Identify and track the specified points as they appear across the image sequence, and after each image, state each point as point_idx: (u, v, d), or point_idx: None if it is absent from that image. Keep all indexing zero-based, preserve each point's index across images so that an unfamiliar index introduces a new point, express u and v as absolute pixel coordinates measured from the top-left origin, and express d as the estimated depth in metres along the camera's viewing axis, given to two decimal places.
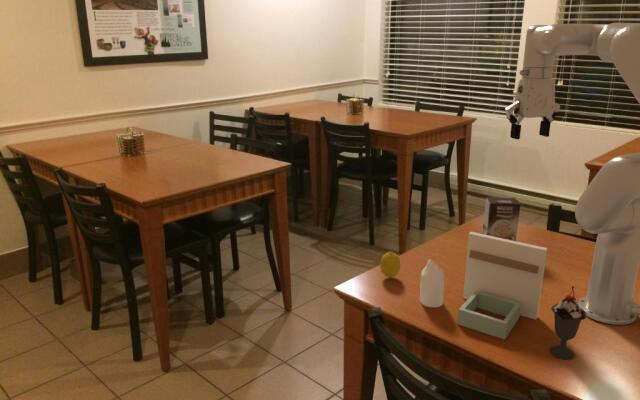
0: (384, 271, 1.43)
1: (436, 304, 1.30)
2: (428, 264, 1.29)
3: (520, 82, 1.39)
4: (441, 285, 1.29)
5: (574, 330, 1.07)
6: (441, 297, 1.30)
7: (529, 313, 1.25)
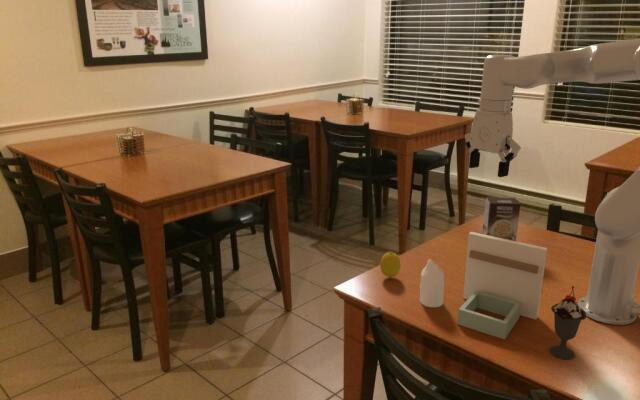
0: (384, 271, 1.43)
1: (436, 304, 1.30)
2: (428, 264, 1.29)
3: None
4: (441, 285, 1.29)
5: (574, 330, 1.07)
6: (441, 297, 1.30)
7: (529, 313, 1.25)
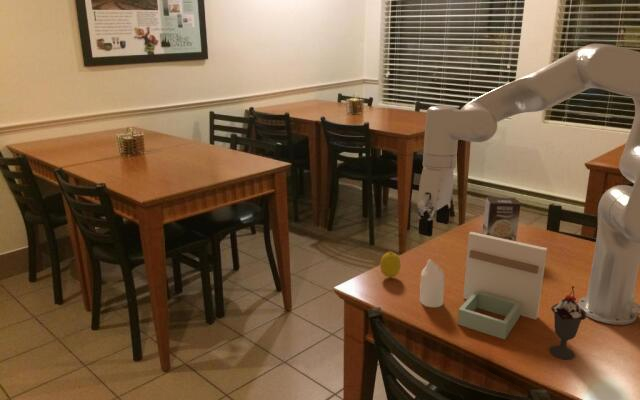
0: (384, 271, 1.43)
1: (436, 304, 1.30)
2: (428, 264, 1.29)
3: None
4: (441, 285, 1.29)
5: (574, 330, 1.07)
6: (441, 297, 1.30)
7: (529, 313, 1.25)
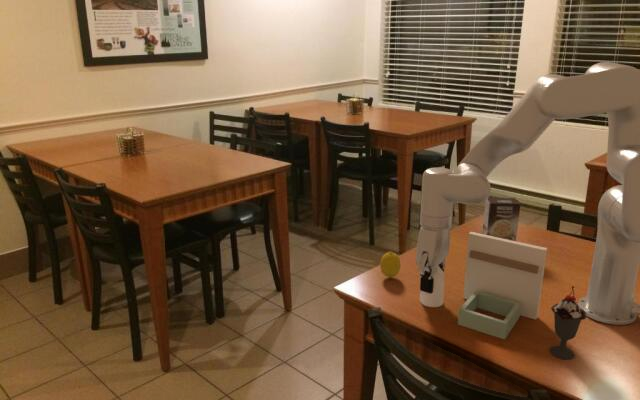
0: (384, 271, 1.43)
1: (436, 304, 1.30)
2: (428, 264, 1.29)
3: None
4: (441, 285, 1.29)
5: (574, 330, 1.07)
6: (441, 297, 1.30)
7: (529, 313, 1.25)
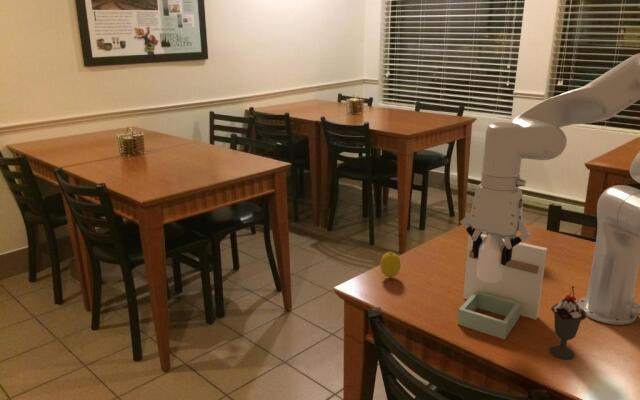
0: (384, 271, 1.43)
1: (478, 275, 1.17)
2: None
3: (518, 195, 1.08)
4: (483, 256, 1.14)
5: (574, 330, 1.07)
6: (484, 271, 1.15)
7: (529, 313, 1.25)
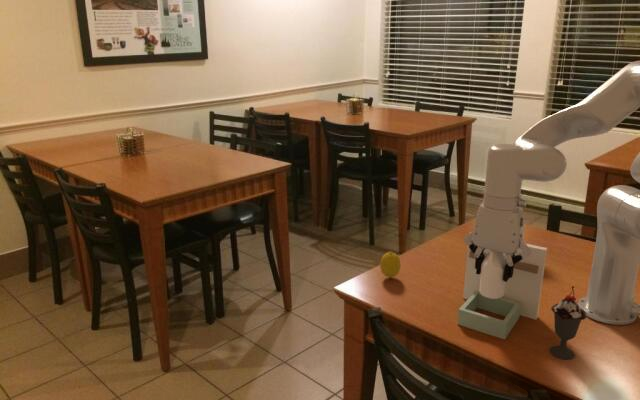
0: (384, 271, 1.43)
1: (481, 291, 1.20)
2: None
3: (519, 215, 1.12)
4: (486, 273, 1.18)
5: (574, 330, 1.07)
6: (486, 287, 1.19)
7: (529, 313, 1.25)
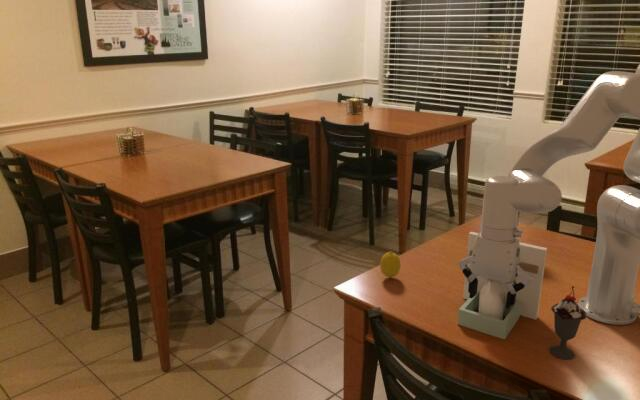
0: (384, 271, 1.43)
1: None
2: None
3: (516, 245, 1.14)
4: (484, 303, 1.20)
5: (574, 330, 1.07)
6: None
7: (529, 313, 1.25)
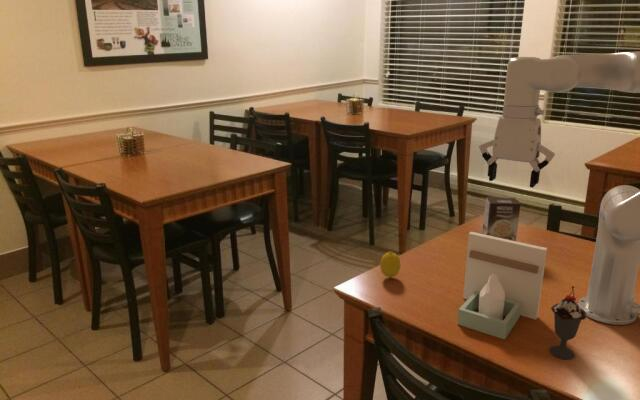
0: (384, 271, 1.43)
1: None
2: None
3: (537, 123, 1.19)
4: (484, 303, 1.20)
5: (574, 330, 1.07)
6: None
7: (529, 313, 1.25)
